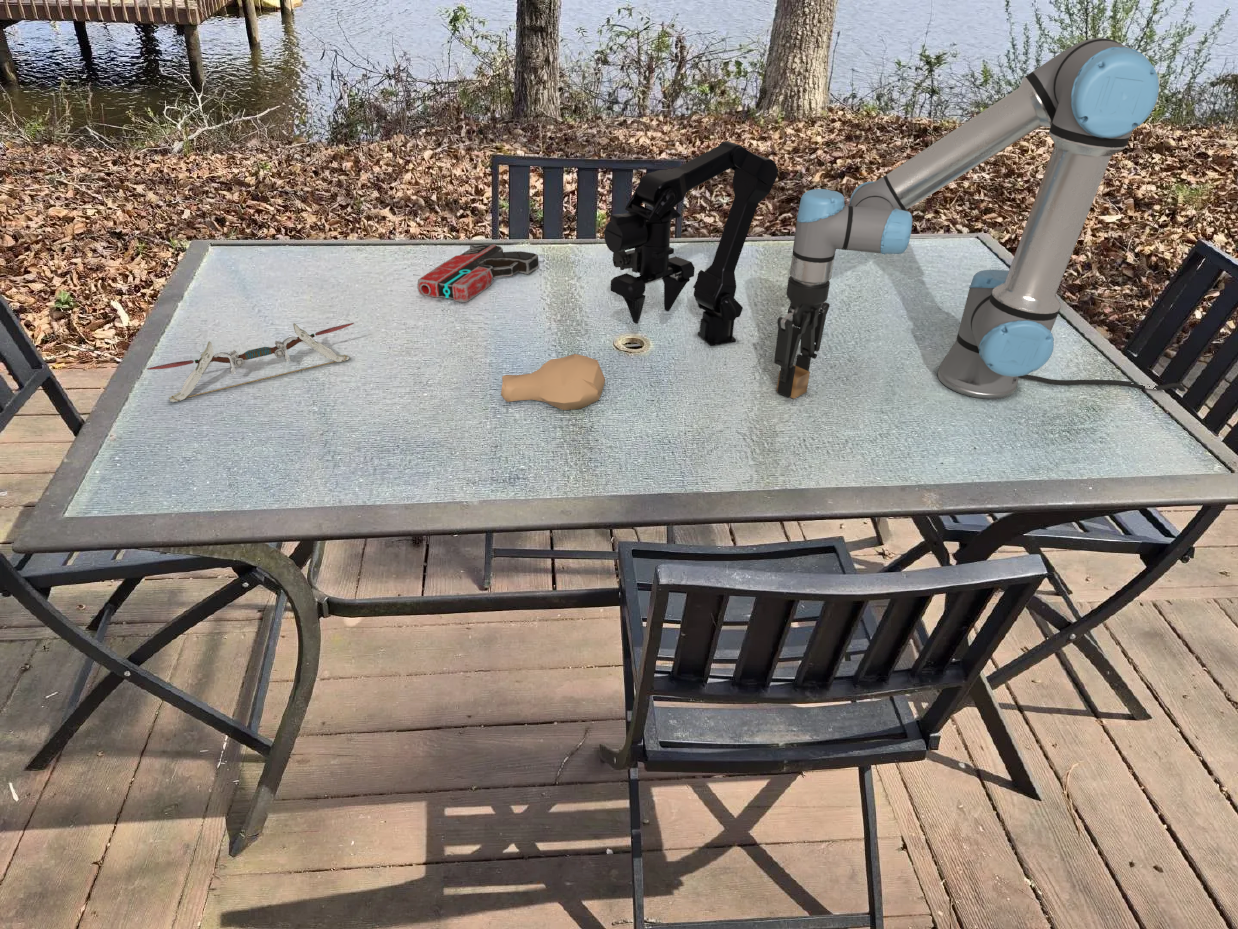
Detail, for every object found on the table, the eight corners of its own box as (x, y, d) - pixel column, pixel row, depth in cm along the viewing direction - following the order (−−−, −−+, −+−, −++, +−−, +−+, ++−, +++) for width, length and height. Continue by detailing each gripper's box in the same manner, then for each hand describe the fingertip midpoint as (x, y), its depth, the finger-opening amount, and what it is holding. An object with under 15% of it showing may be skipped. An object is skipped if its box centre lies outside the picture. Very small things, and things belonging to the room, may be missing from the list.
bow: (357, 354, 182) (350, 309, 176) (360, 358, 181) (353, 313, 175) (156, 402, 164) (141, 354, 158) (158, 406, 162) (143, 358, 157)
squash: (607, 416, 164) (601, 378, 158) (502, 424, 166) (492, 387, 160) (608, 380, 172) (602, 343, 166) (508, 388, 174) (499, 351, 167)
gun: (542, 248, 224) (475, 239, 230) (485, 289, 199) (411, 278, 205) (543, 265, 226) (476, 256, 232) (486, 308, 202) (414, 296, 207)
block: (789, 384, 175) (792, 364, 173) (806, 391, 173) (810, 371, 170) (776, 390, 173) (779, 370, 170) (794, 398, 170) (797, 378, 168)
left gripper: (658, 221, 180) (654, 293, 189) (591, 242, 169) (591, 316, 178) (698, 235, 174) (693, 309, 182) (632, 257, 163) (629, 334, 171)
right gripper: (820, 261, 167) (802, 370, 180) (763, 283, 157) (749, 397, 170) (853, 272, 163) (832, 383, 176) (798, 296, 152) (780, 412, 165)
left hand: (651, 316), depth 179 cm, fingers open, 9 cm apart
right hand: (791, 390), depth 173 cm, fingers closed on block, 4 cm apart
